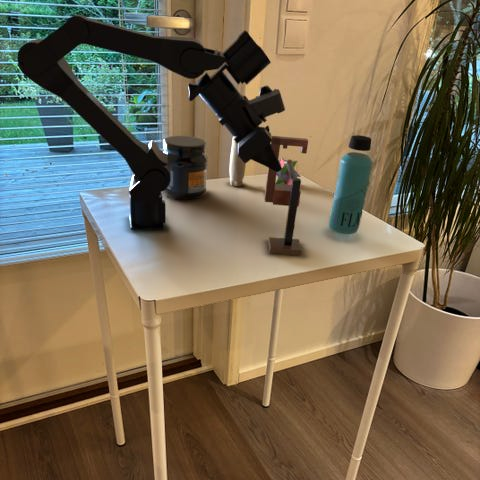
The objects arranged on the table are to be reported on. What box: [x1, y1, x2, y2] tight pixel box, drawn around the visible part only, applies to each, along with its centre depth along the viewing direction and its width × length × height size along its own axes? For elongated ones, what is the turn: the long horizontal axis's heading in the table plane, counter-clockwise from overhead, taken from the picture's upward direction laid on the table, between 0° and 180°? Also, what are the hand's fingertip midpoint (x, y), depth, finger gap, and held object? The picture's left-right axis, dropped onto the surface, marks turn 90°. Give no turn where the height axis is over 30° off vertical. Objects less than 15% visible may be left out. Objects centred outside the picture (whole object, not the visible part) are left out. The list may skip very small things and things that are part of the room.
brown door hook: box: [264, 135, 309, 207], centre depth 99 cm, size 7×4×12 cm, turn 91°
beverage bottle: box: [328, 134, 374, 235], centre depth 101 cm, size 6×7×20 cm
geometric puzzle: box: [275, 157, 301, 185], centre depth 129 cm, size 7×7×8 cm
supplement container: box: [162, 135, 209, 200], centre depth 116 cm, size 10×10×12 cm
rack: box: [267, 159, 303, 257], centre depth 99 cm, size 6×16×14 cm, turn 1°
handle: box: [229, 135, 247, 187], centre depth 124 cm, size 5×6×15 cm
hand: (279, 168), depth 99 cm, fingers closed on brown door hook, 2 cm apart
